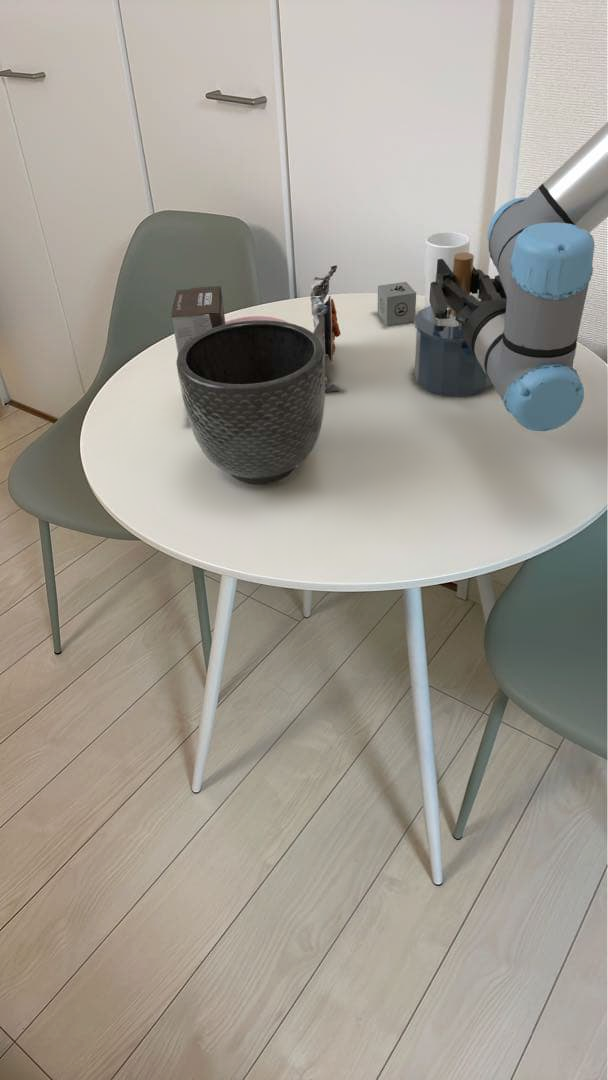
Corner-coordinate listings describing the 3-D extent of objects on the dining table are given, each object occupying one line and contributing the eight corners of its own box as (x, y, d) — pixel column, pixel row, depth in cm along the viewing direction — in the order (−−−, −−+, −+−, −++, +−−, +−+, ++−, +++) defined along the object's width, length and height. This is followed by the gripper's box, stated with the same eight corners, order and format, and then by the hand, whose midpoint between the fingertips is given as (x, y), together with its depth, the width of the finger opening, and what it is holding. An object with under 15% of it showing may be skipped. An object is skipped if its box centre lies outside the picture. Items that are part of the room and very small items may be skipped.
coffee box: (234, 421, 106) (220, 312, 95) (189, 425, 106) (170, 317, 95) (234, 389, 113) (221, 284, 102) (191, 392, 113) (174, 288, 102)
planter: (186, 443, 102) (165, 333, 92) (307, 418, 105) (301, 309, 95) (209, 518, 90) (188, 400, 79) (346, 488, 93) (344, 371, 82)
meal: (343, 391, 110) (341, 306, 102) (314, 392, 111) (310, 307, 102) (339, 345, 122) (337, 264, 113) (312, 346, 122) (309, 266, 113)
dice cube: (414, 321, 127) (416, 292, 124) (386, 326, 126) (387, 297, 123) (405, 309, 131) (406, 281, 127) (377, 314, 130) (377, 285, 127)
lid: (487, 305, 112) (494, 235, 105) (514, 342, 102) (525, 268, 96) (405, 313, 111) (407, 244, 105) (425, 351, 102) (429, 278, 95)
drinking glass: (441, 345, 120) (448, 250, 110) (411, 332, 124) (415, 239, 114) (470, 331, 123) (480, 238, 113) (440, 319, 127) (446, 228, 117)
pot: (474, 347, 119) (480, 295, 113) (509, 401, 106) (517, 345, 100) (403, 355, 118) (405, 303, 112) (430, 410, 105) (433, 354, 100)
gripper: (437, 376, 91) (395, 298, 109) (562, 362, 92) (501, 287, 110) (441, 317, 86) (397, 245, 104) (574, 303, 87) (508, 235, 105)
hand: (450, 267), depth 107 cm, fingers closed on lid, 3 cm apart
